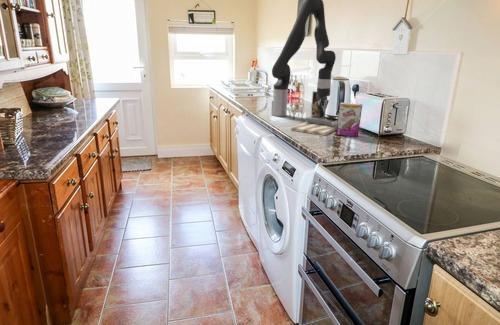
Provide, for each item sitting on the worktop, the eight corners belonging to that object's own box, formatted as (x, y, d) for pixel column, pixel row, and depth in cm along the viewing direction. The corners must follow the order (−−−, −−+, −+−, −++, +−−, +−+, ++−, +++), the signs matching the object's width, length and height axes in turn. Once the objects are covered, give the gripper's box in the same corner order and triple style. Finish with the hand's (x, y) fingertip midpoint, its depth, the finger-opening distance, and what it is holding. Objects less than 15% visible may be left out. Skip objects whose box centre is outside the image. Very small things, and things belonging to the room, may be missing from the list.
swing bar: (304, 121, 198) (304, 118, 198) (307, 120, 201) (307, 117, 200) (335, 126, 188) (336, 122, 188) (338, 125, 191) (338, 121, 191)
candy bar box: (335, 135, 178) (339, 103, 173) (336, 133, 182) (340, 102, 177) (358, 137, 175) (362, 105, 169) (358, 135, 179) (362, 103, 174)
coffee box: (310, 117, 223) (312, 92, 218) (310, 115, 229) (312, 91, 224) (325, 117, 222) (327, 92, 217) (324, 116, 228) (326, 91, 223)
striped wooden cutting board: (291, 130, 187) (291, 126, 186) (310, 122, 206) (310, 119, 206) (324, 135, 177) (325, 132, 176) (341, 127, 196) (341, 124, 196)
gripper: (322, 85, 204) (320, 114, 209) (313, 87, 193) (311, 118, 198) (334, 86, 200) (331, 116, 205) (325, 88, 189) (323, 119, 194)
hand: (321, 117), depth 202 cm, fingers closed
